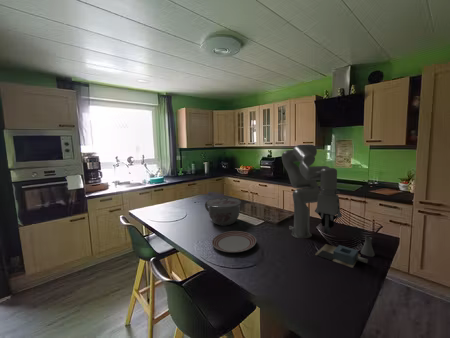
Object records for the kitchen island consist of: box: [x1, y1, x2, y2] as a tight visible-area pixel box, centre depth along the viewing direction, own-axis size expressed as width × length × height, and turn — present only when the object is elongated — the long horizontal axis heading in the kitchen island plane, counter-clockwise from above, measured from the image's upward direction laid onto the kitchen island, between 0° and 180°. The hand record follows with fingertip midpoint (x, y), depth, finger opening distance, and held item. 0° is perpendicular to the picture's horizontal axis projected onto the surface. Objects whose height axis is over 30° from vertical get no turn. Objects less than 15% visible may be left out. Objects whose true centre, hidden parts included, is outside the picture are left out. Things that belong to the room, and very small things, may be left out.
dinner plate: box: [211, 230, 257, 253], centre depth 130 cm, size 27×27×3 cm
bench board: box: [314, 243, 362, 269], centre depth 112 cm, size 18×16×1 cm
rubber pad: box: [316, 250, 333, 262], centre depth 112 cm, size 7×7×1 cm
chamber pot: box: [204, 196, 242, 226], centre depth 166 cm, size 28×28×21 cm
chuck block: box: [333, 244, 369, 265], centre depth 107 cm, size 14×9×4 cm, turn 45°
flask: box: [360, 236, 376, 257], centre depth 112 cm, size 7×7×10 cm
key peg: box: [323, 214, 332, 235], centre depth 109 cm, size 3×3×10 cm
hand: (327, 226), depth 110 cm, fingers closed on key peg, 3 cm apart
